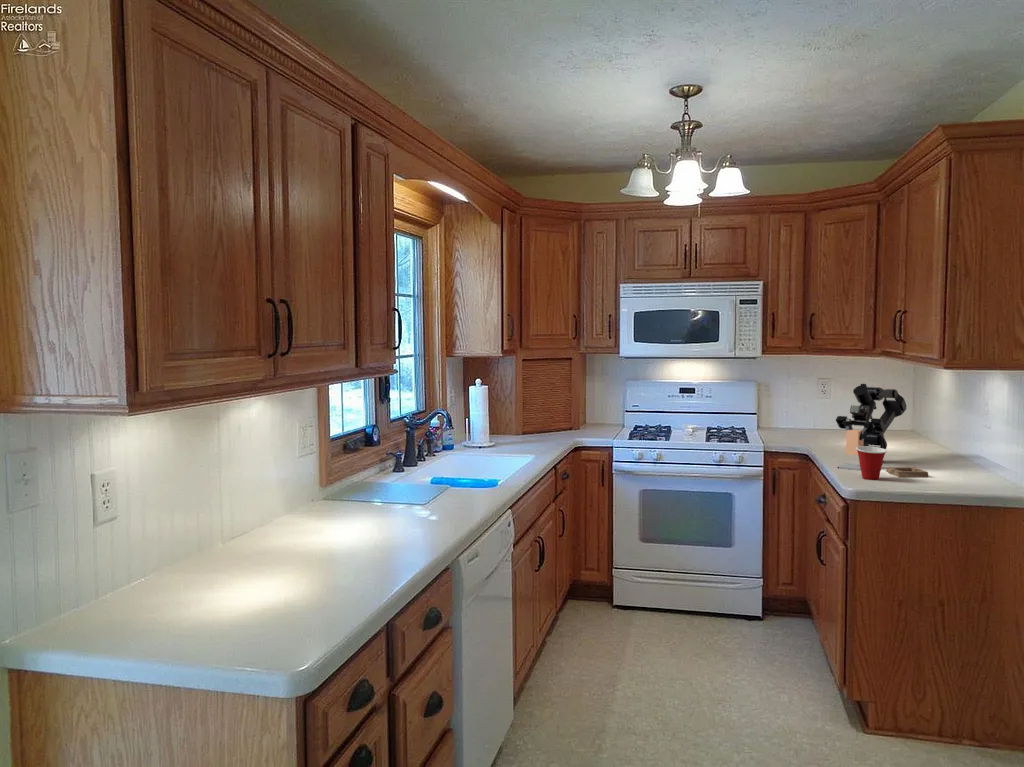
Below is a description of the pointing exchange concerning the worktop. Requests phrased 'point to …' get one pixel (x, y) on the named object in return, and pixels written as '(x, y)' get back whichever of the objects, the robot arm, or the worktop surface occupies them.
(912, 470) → the walnut well board
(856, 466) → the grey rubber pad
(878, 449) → the plastic cup
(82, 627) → the worktop surface
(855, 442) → the terracotta block
